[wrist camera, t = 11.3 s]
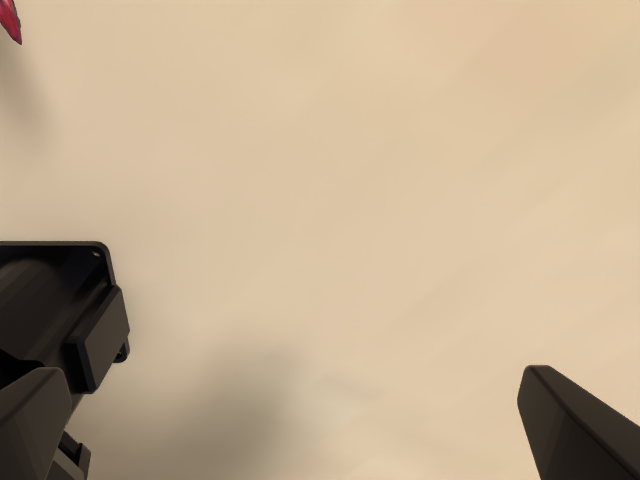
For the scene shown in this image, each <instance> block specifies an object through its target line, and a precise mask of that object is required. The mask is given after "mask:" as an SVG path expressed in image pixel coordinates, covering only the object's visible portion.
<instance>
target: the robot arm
mask: <svg viewBox="0 0 640 480" xmlns="http://www.w3.org/2000/svg"><path fill="white" fill-rule="evenodd" d="M92 250H94V251H97V252H98V253H99V254H100V256H96V255H94V254H93V252H92ZM129 332H130V329H129V324H128V319H127V314H126V309H125V305H124V300H123V295H122V290H121V288H120V287H119V286H118V285H116V281H115V276H114V272H113V267H112V262H111V257H110V253H109V250H108V248H107V246H106V245H105V244H103V243H101V242H97V241H0V480H87V474H88V468H89V462H90V456H91V452H90V451H89V450H88V449H87V448H86V447H85V446H84V445H83V444H82V443H79V444H78V443H77V442H76V441H75V440H74V439H73V438H72V437H71V436H70V435H69V434H68V433H67V432H66V431H65V430H64V428H65V426H66V424H67V423H68V421H69V419H70V417H71V416H72V414H73V412H74V411H75V409H76V407H77V406H78V404H79V402H80V401H81V399H82V397H83V395H84V394H93V393H94V392H95V391H96V390H97V389H98V388H99V386H100V384H101V382H102V380H103V379H104V377H105V375H106V373H107V372H108V370H109V368H110V366H111V364H112V363H120V362H123V361H125V360H126V359H127V357H128V355H129V353H130V348H129V343H128V338H127V336H128V334H129ZM118 352H121V354H120V353H118ZM517 404H518V409H519V413H520V416H521V419H522V422H523V425H524V428H525V432H526V435H527V438H528V441H529V444H530V448H531V451H532V454H533V457H534V460H535V463H536V467H537V470H538V473H539V476H540V479H541V480H640V426H638V425H637V424H635V423H634V422H632V421H631V420H629V419H628V418H626V417H625V416H623V415H622V414H620V413H619V412H617V411H616V410H614V409H613V408H611V407H610V406H608V405H607V404H606V403H604V402H603V401H601V400H600V399H598V398H597V397H595V396H594V395H592V394H591V393H589V392H588V391H586V390H585V389H583V388H582V387H580V386H579V385H577V384H576V383H574V382H573V381H571V380H570V379H568V378H567V377H566V376H564V375H563V374H561V373H560V372H558V371H557V370H555V369H554V368H552V367H550V366H548V365H529V366H527V367H526V368H525V370H524V373H523V377H522V381H521V384H520V388H519V392H518V397H517Z"/></svg>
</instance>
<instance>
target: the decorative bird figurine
mask: <svg viewBox="0 0 640 480" xmlns="http://www.w3.org/2000/svg"><path fill="white" fill-rule="evenodd" d="M0 23H1V24H2V26H3V27H4V28H5V29H6V30H7V32H8V34H9V35H10V37H11V38H12V39H13V40H14V41H16V42H17V43H19V44H20V45H22V39H21V32H20V28H21V25H20V20H19V18H18V16H17V11H16V8H15V4H14V1H13V0H0Z"/></svg>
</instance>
